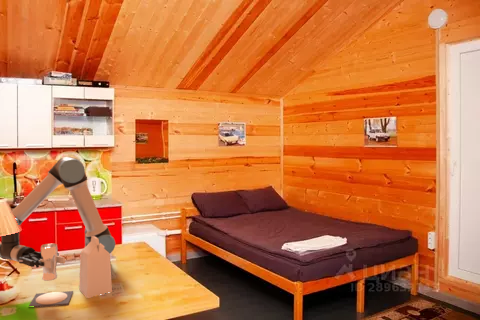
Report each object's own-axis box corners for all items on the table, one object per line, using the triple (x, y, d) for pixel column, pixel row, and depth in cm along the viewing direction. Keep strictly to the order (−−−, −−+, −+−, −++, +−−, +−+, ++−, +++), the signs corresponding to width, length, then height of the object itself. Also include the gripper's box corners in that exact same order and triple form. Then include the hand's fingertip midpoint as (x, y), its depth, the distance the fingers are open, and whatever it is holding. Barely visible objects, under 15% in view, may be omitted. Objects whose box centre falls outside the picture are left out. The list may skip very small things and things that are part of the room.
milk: (79, 289, 201) (78, 236, 199) (103, 284, 208) (102, 233, 206) (87, 298, 192) (86, 242, 189) (112, 292, 199) (111, 238, 196)
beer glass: (44, 275, 191) (44, 243, 190) (60, 275, 192) (59, 243, 191) (38, 281, 184) (37, 247, 183) (54, 281, 185) (54, 247, 184)
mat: (73, 292, 197) (73, 290, 197) (68, 305, 184) (68, 302, 184) (36, 295, 194) (36, 292, 194) (28, 308, 180) (28, 305, 180)
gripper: (42, 256, 205) (75, 264, 194) (3, 268, 188) (37, 277, 177) (42, 241, 204) (75, 248, 193) (3, 251, 187) (37, 260, 176)
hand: (57, 262), depth 185 cm, fingers closed on beer glass, 6 cm apart
